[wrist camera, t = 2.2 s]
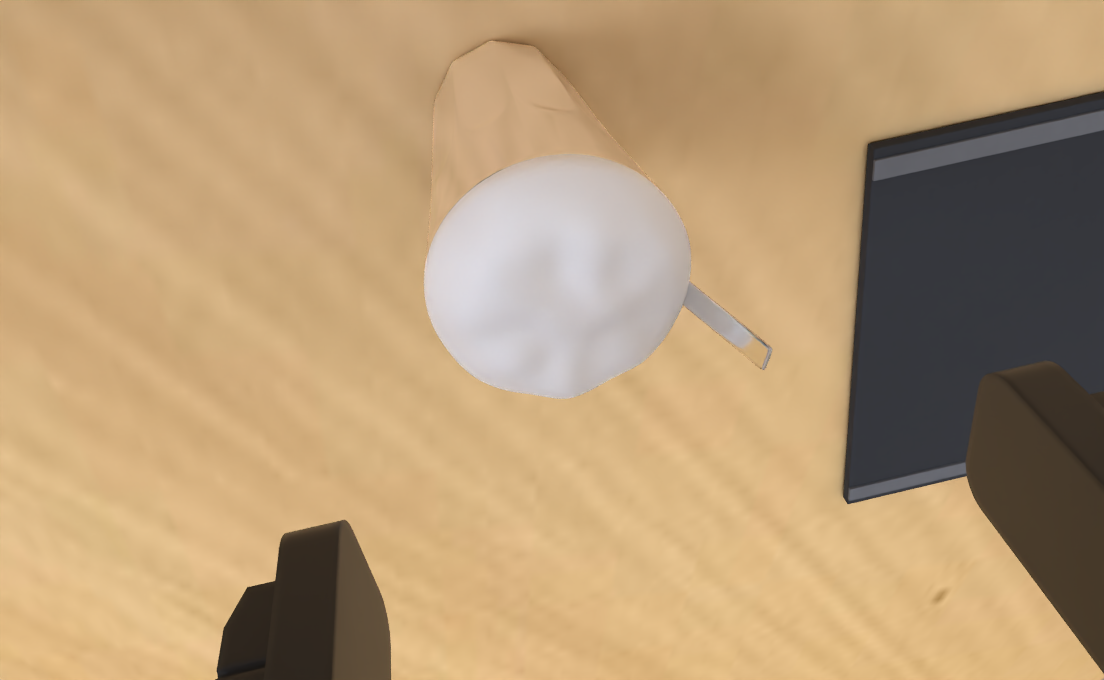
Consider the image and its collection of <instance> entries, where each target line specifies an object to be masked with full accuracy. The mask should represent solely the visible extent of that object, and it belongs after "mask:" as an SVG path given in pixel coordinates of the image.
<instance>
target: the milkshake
mask: <svg viewBox="0 0 1104 680" xmlns="http://www.w3.org/2000/svg"><path fill="white" fill-rule="evenodd" d="M690 271H691V249H690V243H689V238H688V235H687V232H686V229H685V226H684V224H683V222H682V220H681V218H680V216H679V214H678V212H677V211H676V209H675V208H674V206H673V205H672V203H671V202H670V201H669V199H668V198H667V197H666V196H665V195H664V194H663V192H662V191H661V190H660V189H659V188H658V187H657V186H656V185H655V183H654V182H653V181H652V180H651V179H650V178H649V177H648V176H647V174H646V173H645V172H644V171H643V170H642V169H641V168H640V167H639V165H638V164H637V163H636V162H635V161H634V160H633V159H632V158H631V157H630V155H629V154H628V153H627V152H626V151H625V150H624V149H623V148H622V147H621V146H620V145H619V143H618V142H617V141H616V140H615V139H614V138H612V136H611V135H610V134H609V132H608V131H607V130H606V129H605V127H604V126H603V125H602V123H601V122H600V121H599V120H598V118H597V117H596V116H595V114H594V113H593V112H592V111H591V109H590V108H589V107H588V105H587V104H586V103H585V102H584V100H583V99H582V98H581V96H580V95H579V94H578V93H577V91H576V90H575V89H574V87H573V86H572V85H571V83H570V82H569V81H568V80H567V78H566V77H565V76H564V75H563V74H562V73H561V72H560V71H559V70H558V69H557V68H556V67H555V66H554V65H553V64H552V63H551V62H550V61H549V60H548V59H547V58H546V57H545V56H544V55H543V54H542V53H541V52H540V51H539V50H538V49H537V48H536V47H535V46H532V45H524V44H515V43H508V42H500V41H493V40H490V41H488V42H487V43H485V44H483V45H481V46H479V47H478V48H476V49H474V50H472V51H470V52H469V53H467V54H465V55H463V56H461V57H460V58H458V59H456V60H454V61H452V63H451V65H450V67H449V70H448V72H447V74H446V76H445V78H444V81H443V83H442V85H441V87H440V89H439V91H438V94H437V96H436V98H435V100H434V110H433V141H432V174H431V204H430V216H429V227H428V237H427V248H426V258H425V271H424V294H425V301H426V306H427V311H428V314H429V317H430V320H431V323H432V325H433V327H434V330H435V331H436V333H437V335H438V337H439V338H440V340H441V342H442V343H443V345H444V346H445V347H446V349H447V350H448V351H449V353H450V354H451V355H452V357H453V358H454V359H455V360H456V361H457V362H458V363H459V364H460V365H461V366H462V367H463V368H464V369H465V370H466V371H467V372H469V373H470V374H471V375H472V376H474V377H475V378H477V379H479V380H480V381H482V382H484V383H486V384H489V385H491V386H494V387H496V388H500V389H503V390H507V391H512V392H518V393H525V394H532V395H538V396H544V397H550V398H557V399H567V398H572V397H576V396H579V395H581V394H584V393H586V392H588V391H590V390H592V389H594V388H596V387H597V386H599V385H601V384H603V383H604V382H606V381H608V380H610V379H612V378H614V377H616V376H618V375H620V374H622V373H624V372H626V371H628V370H630V369H632V368H634V367H636V366H637V365H639V364H641V363H642V362H643V361H645V360H646V359H647V358H648V357H649V356H650V355H651V354H652V353H653V352H654V351H655V350H656V349H657V347H658V346H659V345H660V344H661V342H662V341H663V340H664V338H665V337H666V335H667V334H668V332H669V331H670V329H671V328H672V326H673V324H674V322H675V320H676V318H677V316H678V314H679V312H680V310H681V308H682V305H684V306H685V307H686V308H687V309H688V310H690V311H691V312H692V313H693V314H694V315H696V316H697V317H698V318H699V319H700V320H702V321H703V322H704V323H705V324H707V325H708V326H709V327H710V328H711V329H713V330H714V331H715V332H716V333H717V334H719V335H720V336H721V337H722V338H723V339H725V340H726V341H727V342H728V343H729V344H731V345H732V346H733V347H734V348H735V349H737V350H738V351H739V352H740V353H742V354H743V355H744V356H745V357H746V358H748V359H749V360H750V361H751V362H752V363H754V364H755V365H756V366H757V367H759V368H760V369H762V370H764V369H765V368H766V366H767V364H768V361H769V359H770V356H771V353H772V348H771V347H770V346H769V345H768V344H767V343H766V342H765V341H764V340H762V339H761V338H760V337H759V336H757V335H756V334H755V333H754V332H752V331H751V330H750V329H749V328H747V327H746V326H745V325H744V324H742V323H741V322H740V321H739V320H737V319H736V318H735V317H734V316H732V315H731V314H730V313H729V312H727V311H726V310H725V309H724V308H722V307H721V306H720V305H719V304H717V303H716V302H715V301H714V300H712V299H711V298H710V297H709V296H707V295H706V294H705V293H703V292H702V291H701V290H700V289H698V288H697V287H696V286H695V285H693V284H692V283H691V282H690V281H689V280H690Z"/></svg>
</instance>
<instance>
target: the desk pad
mask: <svg viewBox="0 0 1104 680" xmlns="http://www.w3.org/2000/svg"><path fill="white" fill-rule="evenodd" d="M1042 361H1051V362H1054V363H1056V364H1058V365H1059V366H1060V367H1062V368H1063V369H1064V370H1065V371H1066V372H1067V373H1068V374H1069V375H1070V376H1071V377H1072V378H1073V379H1074V380H1075V381H1076V382H1077V383H1078V384H1079V385H1080V386H1081V387H1083V388H1084V389H1085V390H1086V391H1087V392H1088V393H1089V394H1094V393H1098V392H1102V391H1104V92H1101V93H1096V94H1092V95H1087V96H1083V97H1078V98H1074V99H1069V100H1065V101H1060V102H1055V103H1051V104H1046V105H1042V106H1037V107H1033V108H1028V109H1024V110H1019V111H1015V112H1010V113H1006V114H1001V115H996V116H992V117H987V118H983V119H978V120H974V121H969V122H965V123H960V124H956V125H951V126H947V127H942V128H938V129H933V130H928V131H924V132H919V133H915V134H910V135H906V136H901V137H897V138H892V139H888V140H883V141H879V142H874V143H870V144H868V153H867V167H866V181H865V195H864V210H863V224H862V238H861V252H860V266H859V281H858V295H857V309H856V323H855V337H854V352H853V366H852V380H851V394H850V408H849V423H848V437H847V451H846V465H845V480H844V494H843V497H844V499H845V501H846V502H847V504H851V503H855V502H859V501H863V500H868V499H872V498H876V497H880V496H885V495H889V494H893V493H897V492H901V491H906V490H910V489H914V488H918V487H922V486H927V485H931V484H935V483H939V482H944V481H948V480H952V479H956V478H960V477H965V476H967V474H966V455H967V449H968V444H969V438H970V432H971V427H972V421H973V415H974V409H975V404H976V398H977V392H978V387H979V383H980V381H981V379H982V378H983V377H984V376H985V375H986V374H990V373H994V372H998V371H1003V370H1007V369H1011V368H1016V367H1020V366H1024V365H1029V364H1033V363H1037V362H1042Z"/></svg>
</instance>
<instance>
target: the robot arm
mask: <svg viewBox="0 0 1104 680" xmlns="http://www.w3.org/2000/svg"><path fill="white" fill-rule="evenodd" d="M966 474H967V478H968V482H969V486H970V489H971V491H972V494H973V496H974V498H975V500H976V502H977V504H978V505H979V507H980V508H981V510H982V511H983V513H984V514H985V515H986V517H987V518H988V519H989V521H990V522H991V523H992V525H993V526H994V527H995V529H996V530H997V531H998V533H999V534H1000V535H1001V537H1002V538H1003V539H1004V541H1005V542H1006V543H1007V545H1008V546H1009V547H1010V549H1011V550H1012V551H1013V553H1014V554H1015V555H1016V557H1017V558H1018V559H1019V561H1020V562H1021V563H1022V565H1023V566H1024V567H1025V569H1026V570H1027V571H1028V573H1029V574H1030V575H1031V577H1032V578H1033V579H1034V581H1035V582H1036V583H1037V585H1038V586H1039V587H1040V589H1041V590H1042V591H1043V593H1044V594H1045V596H1046V597H1047V598H1048V600H1049V601H1050V602H1051V604H1052V605H1053V606H1054V608H1055V609H1056V610H1057V612H1058V613H1059V614H1060V616H1061V617H1062V618H1063V620H1064V621H1065V622H1066V624H1067V625H1068V626H1069V628H1070V629H1071V630H1072V632H1073V633H1074V634H1075V636H1076V637H1077V638H1078V640H1079V641H1080V642H1081V644H1082V645H1083V646H1084V648H1085V649H1086V650H1087V652H1088V653H1089V654H1090V656H1091V657H1092V658H1093V660H1094V661H1095V662H1096V664H1097V665H1098V666H1099V668H1100V669H1101V670H1102V672H1103V673H1104V391H1102V392H1098V393H1094V394H1089V393H1088V392H1087V391H1086V390H1085V389H1084V388H1083V387H1081V386H1080V385H1079V384H1078V383H1077V382H1076V381H1075V380H1074V379H1073V378H1072V377H1071V376H1070V375H1069V374H1068V373H1067V372H1066V371H1065V370H1064V369H1063V368H1062V367H1060V366H1059V365H1058V364H1056V363H1054V362H1051V361H1042V362H1037V363H1033V364H1029V365H1024V366H1020V367H1016V368H1011V369H1007V370H1003V371H998V372H994V373H990V374H986V375H985V376H984V377H983V378H982V379H981V381H980V383H979V387H978V392H977V398H976V404H975V409H974V415H973V421H972V427H971V432H970V438H969V444H968V449H967V455H966ZM217 673H218V679H215V680H391V643H390V631H389V624H388V618H387V613H386V609H385V605H384V601H383V598H382V596H381V593H380V591H379V588H378V586H377V584H376V582H375V579H374V577H373V575H372V573H371V570H370V568H369V566H368V564H367V561H366V559H365V557H364V555H363V552H362V550H361V548H360V546H359V543H358V541H357V539H356V537H355V534H354V532H353V530H352V528H351V526H350V524H349V523H348V522H347V521H346V520H342V521H337V522H333V523H329V524H324V525H320V526H316V527H311V528H307V529H303V530H298V531H294V532H289V533H285V534H284V535H283V537H282V538H281V542H280V547H279V554H278V563H277V571H276V580H275V581H273V582H269V583H265V584H260V585H256V586H252V587H247V589H246V591H245V592H244V594H243V596H242V598H241V599H240V601H239V603H238V604H237V606H236V608H235V610H234V611H233V613H232V615H231V617H230V618H229V620H228V622H227V624H226V625H225V627H224V630H223V636H222V642H221V648H220V654H219V660H218V666H217Z"/></svg>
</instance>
